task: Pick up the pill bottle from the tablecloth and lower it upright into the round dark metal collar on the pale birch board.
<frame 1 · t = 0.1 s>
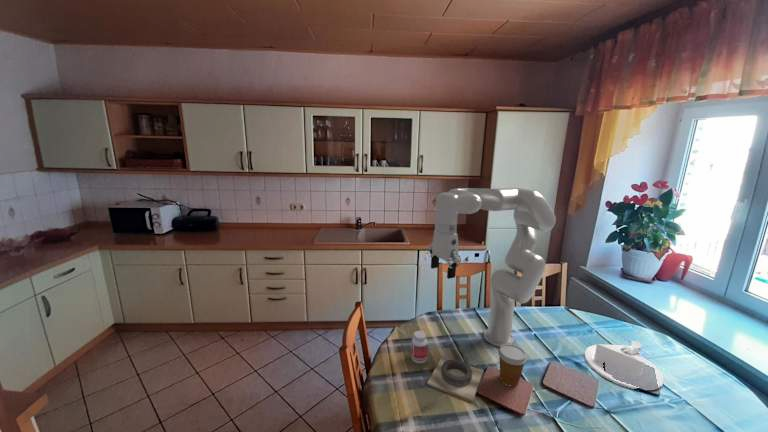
hand: (442, 272, 118), 37 cm above the table, tool pointing down, fingers open, 9 cm apart
pill bottle: (418, 359, 127), on the table
socket board: (456, 378, 117), on the table
dish: (621, 367, 125), on the table
disposable coffee cup: (509, 380, 117), on the table
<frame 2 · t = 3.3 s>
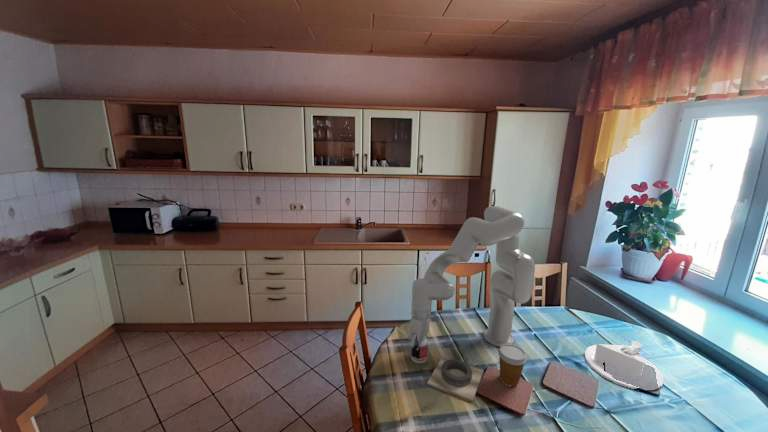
hand: (419, 351, 127), 3 cm above the table, tool pointing down, fingers closed on pill bottle, 6 cm apart
pill bottle: (418, 359, 127), on the table, touching gripper
everything else where it was.
when the fingers open (5 cm above the table, at t = 9.2 s): pill bottle drops 1 cm, resting on socket board.
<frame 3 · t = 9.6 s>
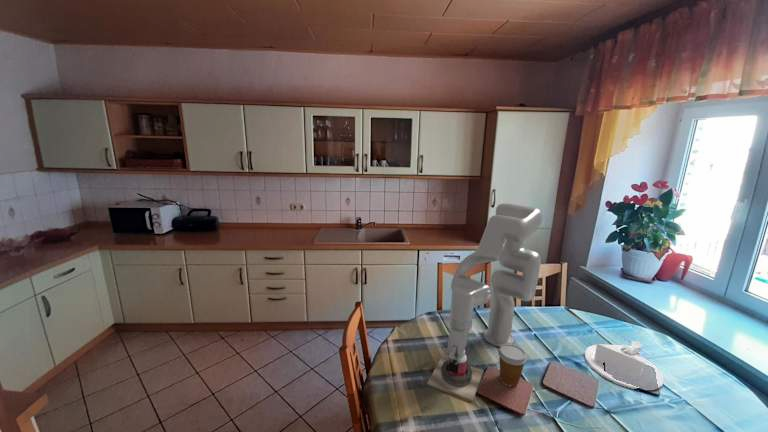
hand: (457, 363, 116), 6 cm above the table, tool pointing down, fingers open, 9 cm apart
pill bottle: (456, 376, 117), point 1 cm above the table, touching socket board
everything else where it was.
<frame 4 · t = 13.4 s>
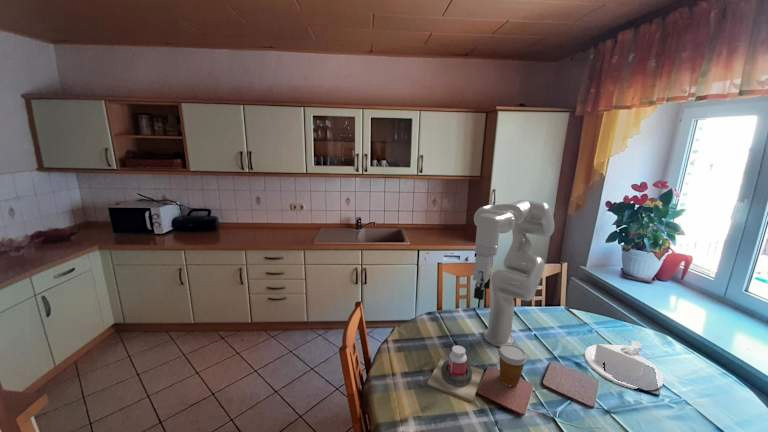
hand: (481, 293, 117), 30 cm above the table, tool pointing down, fingers open, 9 cm apart
nothing on the table moved.
at the end: pill bottle 0.3 cm off-centre on the socket board, point 0.8 cm above the socket board's base; pill bottle tilted 0°; the gripper is holding nothing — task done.
